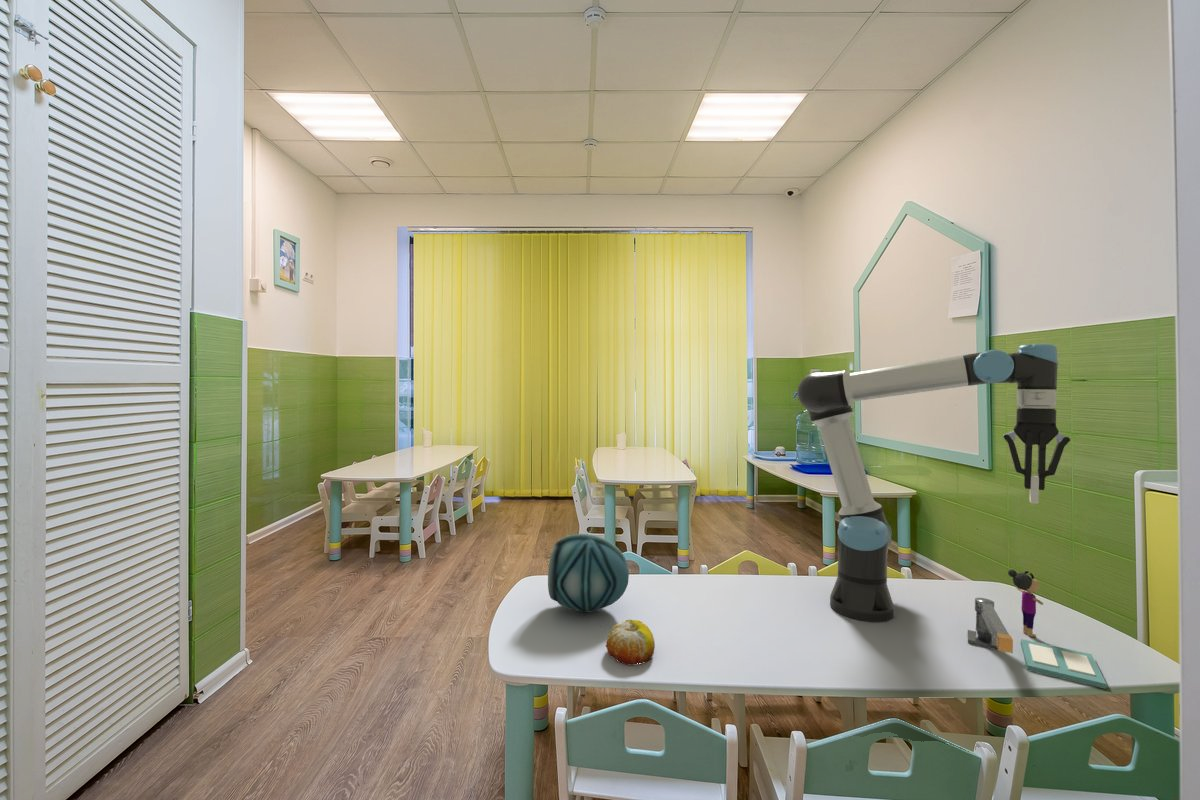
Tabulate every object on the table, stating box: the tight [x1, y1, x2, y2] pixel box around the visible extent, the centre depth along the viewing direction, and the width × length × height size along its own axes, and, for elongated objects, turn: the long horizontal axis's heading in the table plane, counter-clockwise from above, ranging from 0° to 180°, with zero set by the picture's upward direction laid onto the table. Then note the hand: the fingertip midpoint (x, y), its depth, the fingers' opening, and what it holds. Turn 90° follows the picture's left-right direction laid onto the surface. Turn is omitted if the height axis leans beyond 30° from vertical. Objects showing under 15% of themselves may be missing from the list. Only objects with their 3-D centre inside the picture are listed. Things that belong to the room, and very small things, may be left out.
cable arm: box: [974, 597, 1014, 654], centre depth 112 cm, size 22×4×3 cm, turn 153°
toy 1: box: [547, 533, 630, 613], centre depth 136 cm, size 19×20×20 cm
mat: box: [1020, 638, 1107, 690], centre depth 111 cm, size 12×14×1 cm
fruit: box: [605, 619, 656, 665], centre depth 114 cm, size 11×10×8 cm
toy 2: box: [1007, 569, 1044, 637], centre depth 125 cm, size 10×6×15 cm, turn 168°
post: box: [967, 611, 999, 651], centre depth 121 cm, size 6×6×7 cm
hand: (1033, 502), depth 129 cm, fingers closed
